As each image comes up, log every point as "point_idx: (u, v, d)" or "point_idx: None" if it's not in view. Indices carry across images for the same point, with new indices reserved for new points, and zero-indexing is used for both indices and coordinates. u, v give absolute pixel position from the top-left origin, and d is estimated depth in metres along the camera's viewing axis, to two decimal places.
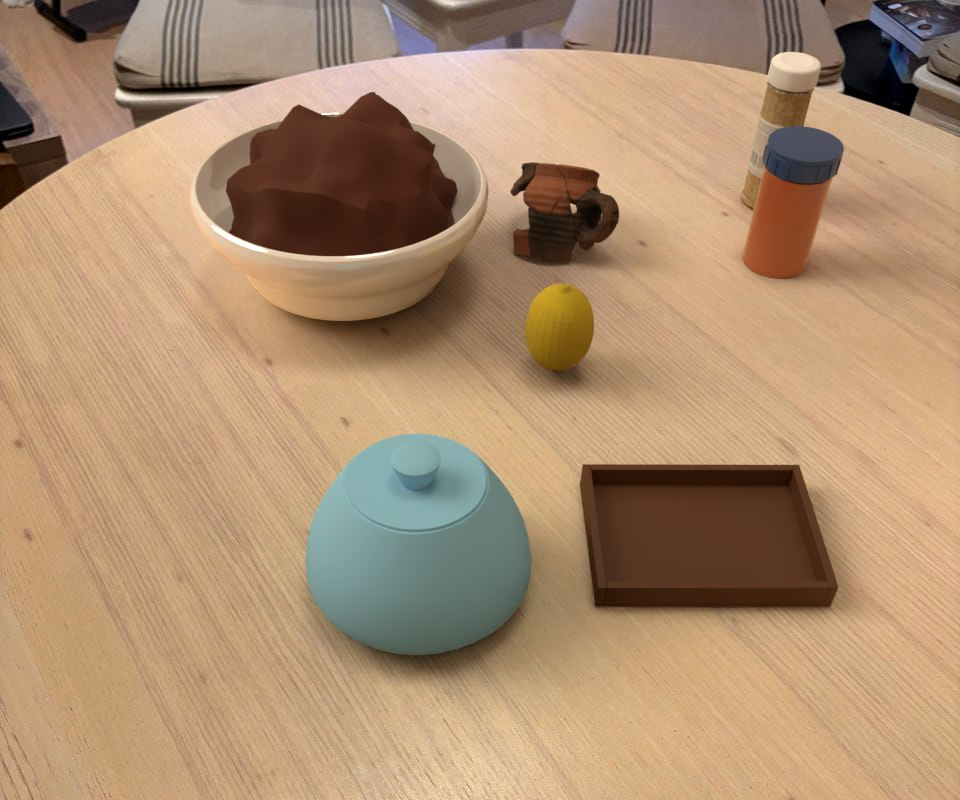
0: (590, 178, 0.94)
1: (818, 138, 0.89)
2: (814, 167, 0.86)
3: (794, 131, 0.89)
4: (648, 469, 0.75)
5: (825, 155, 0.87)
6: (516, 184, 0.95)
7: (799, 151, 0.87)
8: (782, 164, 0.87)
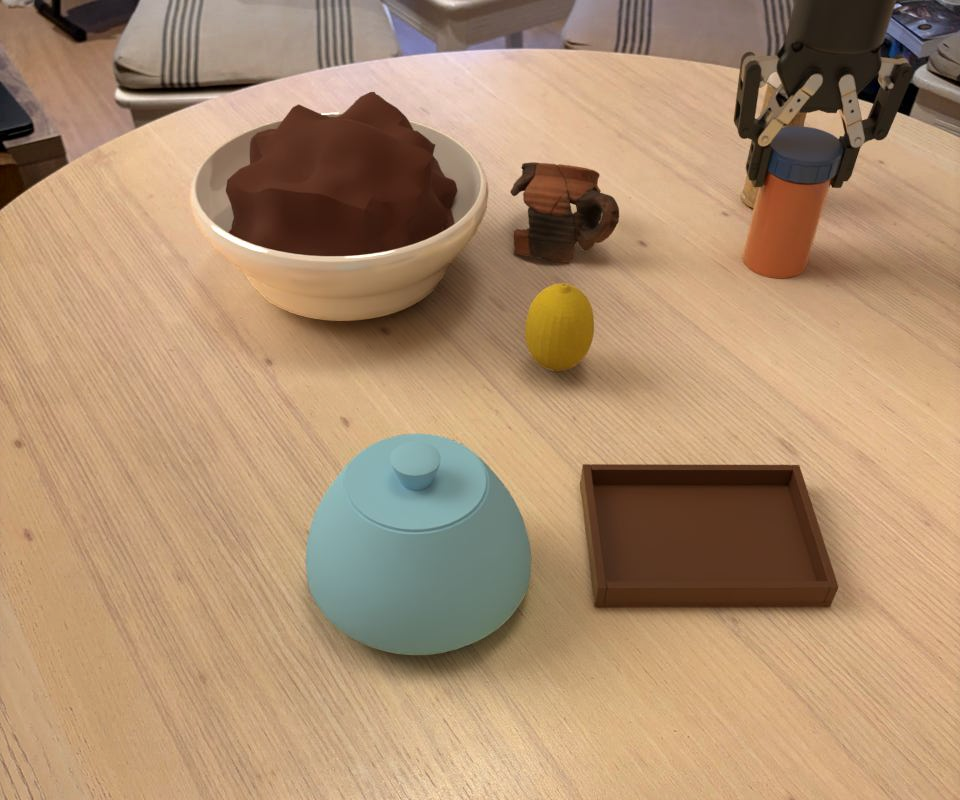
0: (590, 178, 0.94)
1: (818, 138, 0.89)
2: (814, 167, 0.86)
3: (794, 131, 0.89)
4: (648, 469, 0.75)
5: (825, 155, 0.87)
6: (516, 184, 0.95)
7: (799, 151, 0.87)
8: (782, 164, 0.87)
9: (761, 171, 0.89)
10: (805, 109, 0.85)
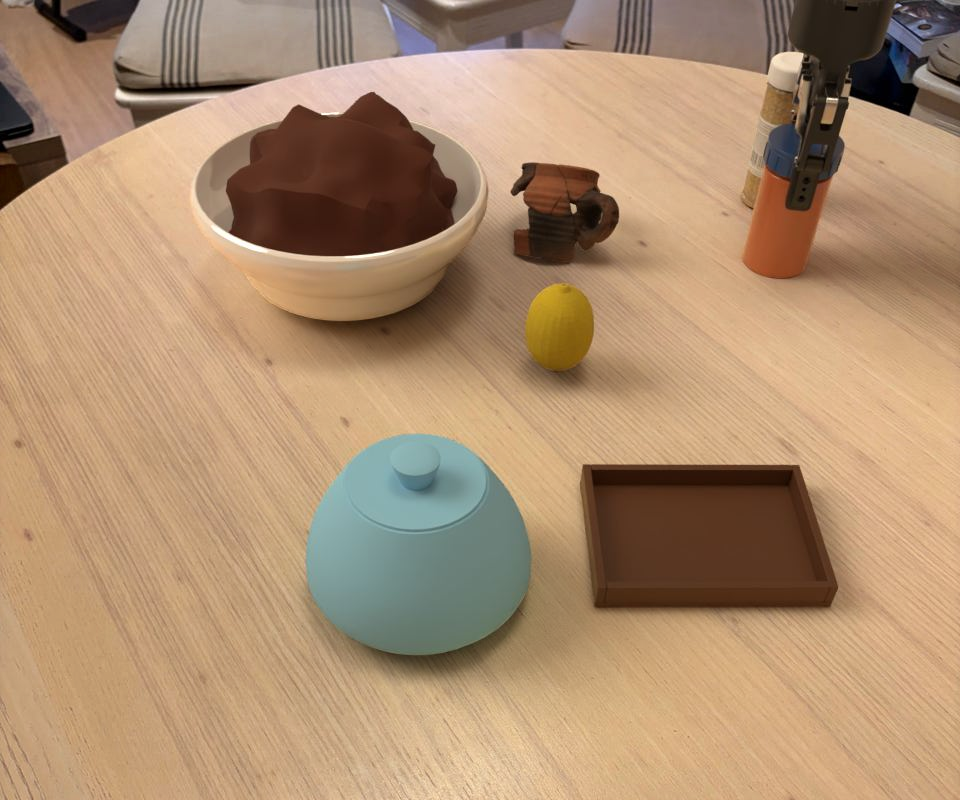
0: (590, 178, 0.94)
1: (793, 133, 0.89)
2: None
3: (782, 143, 0.87)
4: (648, 469, 0.75)
5: None
6: (516, 184, 0.95)
7: None
8: (836, 162, 0.87)
9: None
10: None
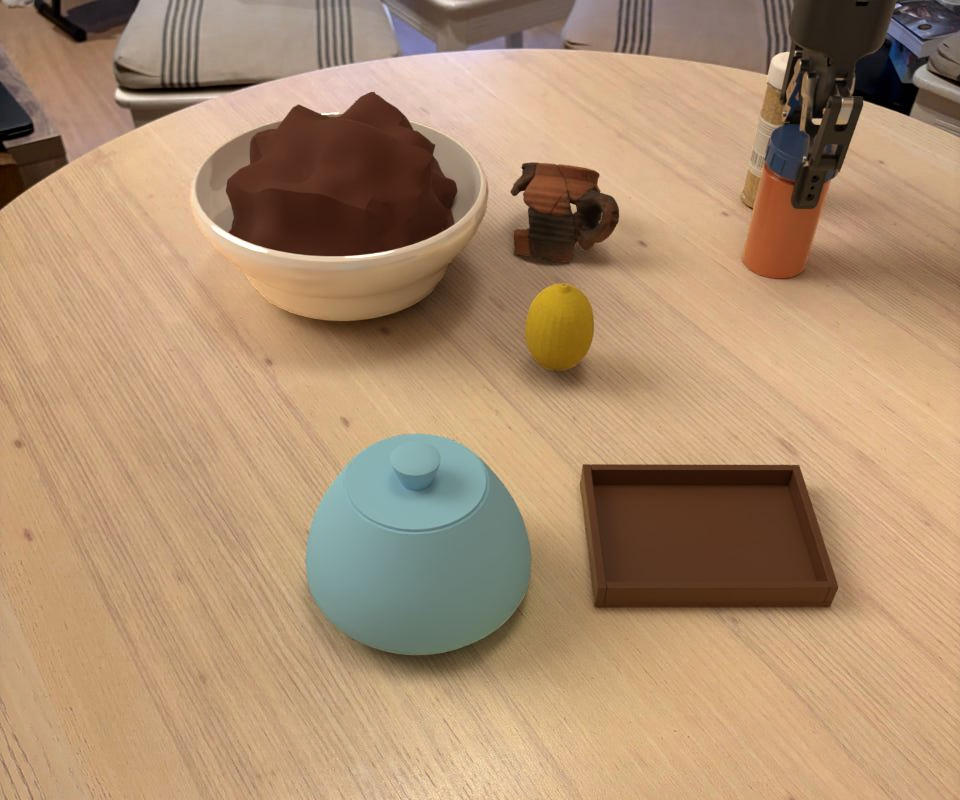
0: (590, 178, 0.94)
1: (792, 144, 0.87)
2: None
3: None
4: (648, 469, 0.75)
5: (795, 128, 0.89)
6: (516, 184, 0.95)
7: None
8: None
9: None
10: None
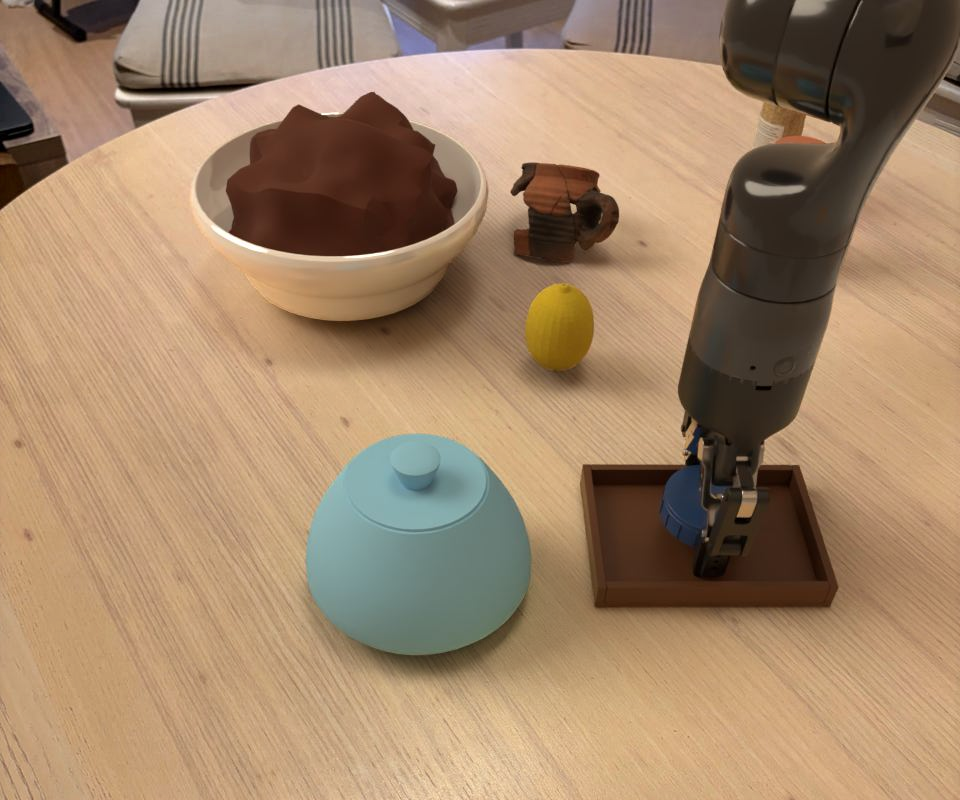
0: (590, 178, 0.94)
1: (691, 502, 0.69)
2: None
3: None
4: (648, 469, 0.75)
5: (697, 472, 0.71)
6: (516, 184, 0.95)
7: None
8: None
9: (727, 558, 0.69)
10: None
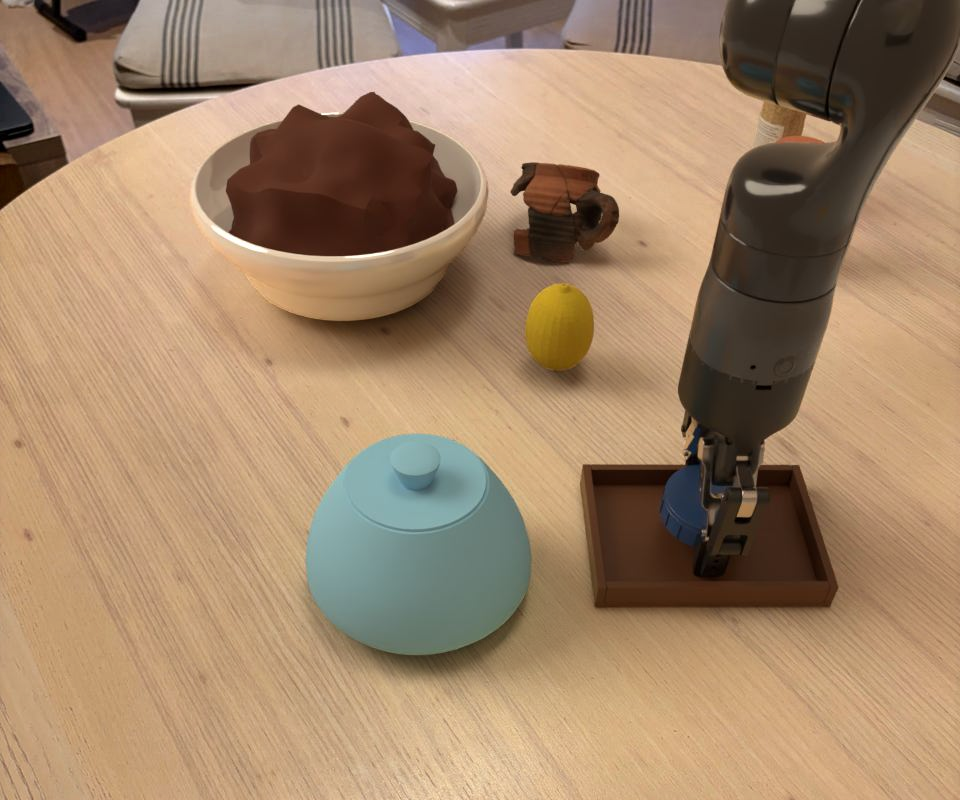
0: (590, 178, 0.94)
1: (691, 502, 0.69)
2: None
3: None
4: (648, 469, 0.75)
5: (697, 472, 0.71)
6: (516, 184, 0.95)
7: None
8: None
9: (727, 558, 0.69)
10: None
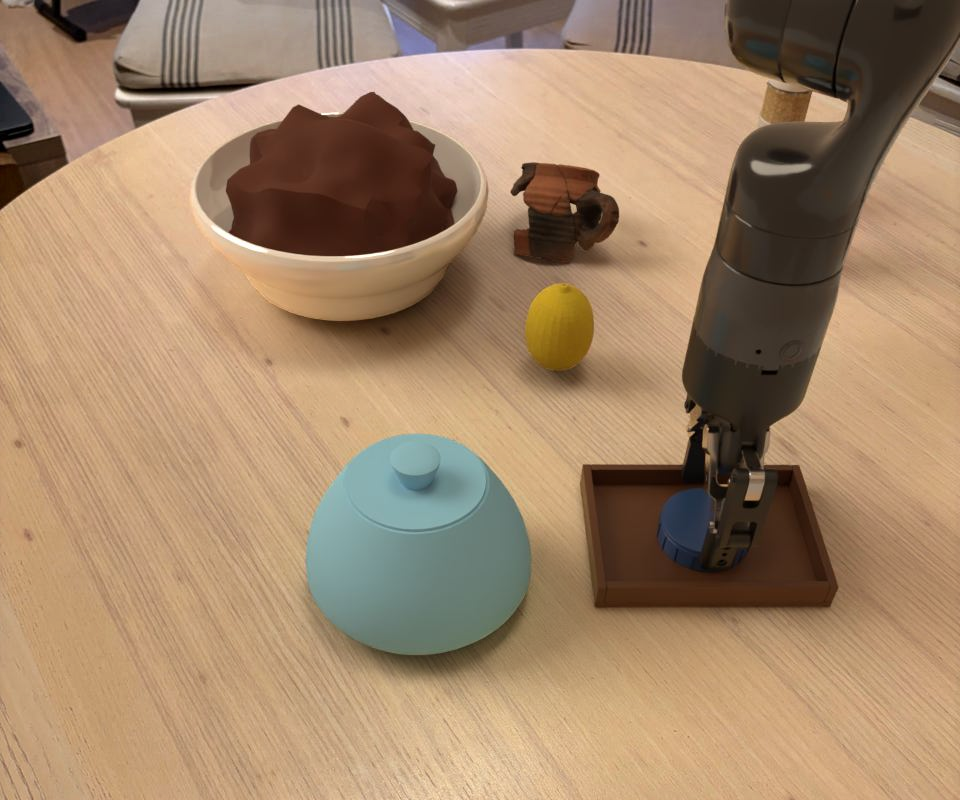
0: (590, 178, 0.94)
1: (687, 525, 0.71)
2: None
3: None
4: (648, 469, 0.75)
5: (693, 496, 0.73)
6: (516, 184, 0.95)
7: (722, 507, 0.72)
8: None
9: (736, 550, 0.68)
10: None
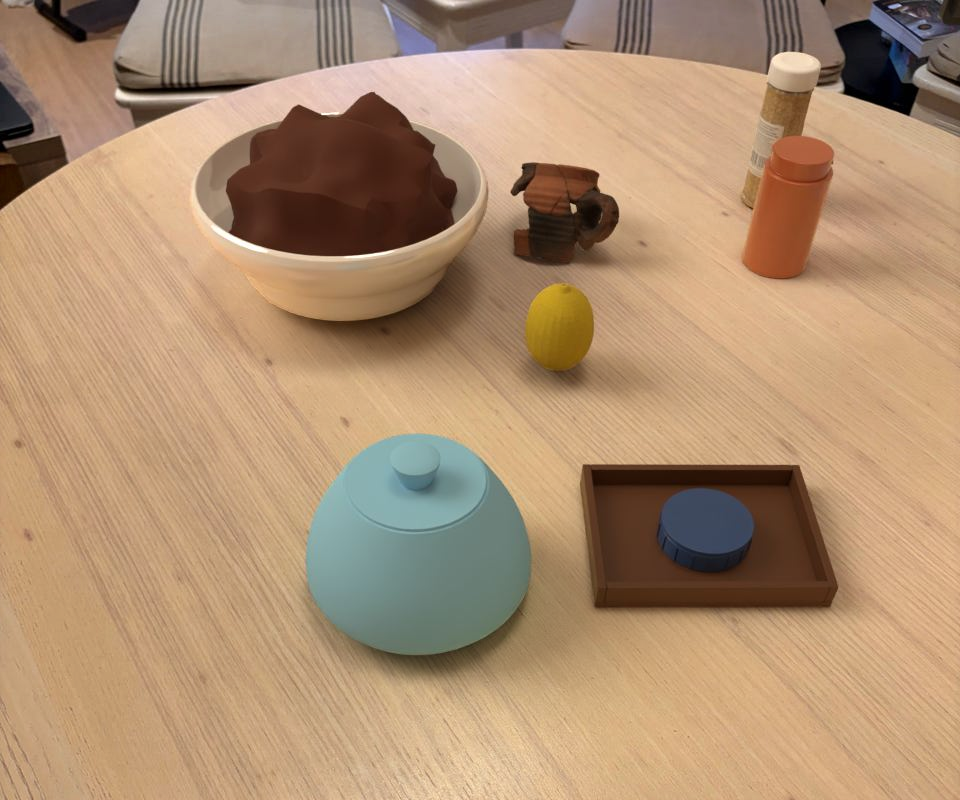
0: (590, 178, 0.94)
1: (687, 525, 0.71)
2: None
3: (712, 543, 0.70)
4: (648, 469, 0.75)
5: (693, 496, 0.73)
6: (516, 184, 0.95)
7: (722, 507, 0.72)
8: None
9: None
10: None
